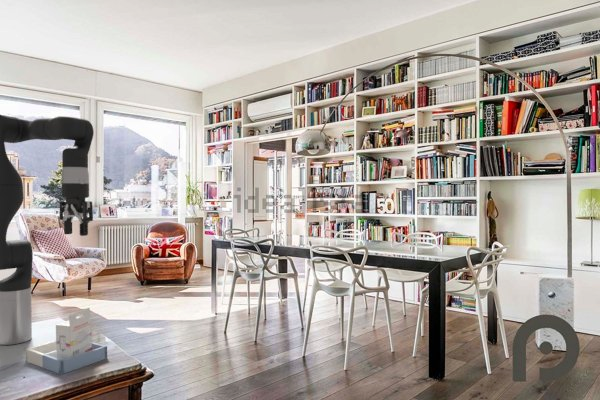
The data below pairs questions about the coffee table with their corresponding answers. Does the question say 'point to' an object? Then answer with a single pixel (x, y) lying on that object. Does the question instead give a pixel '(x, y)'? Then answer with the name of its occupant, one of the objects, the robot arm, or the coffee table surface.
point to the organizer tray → (48, 359)
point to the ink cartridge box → (74, 335)
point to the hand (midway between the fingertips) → (75, 234)
